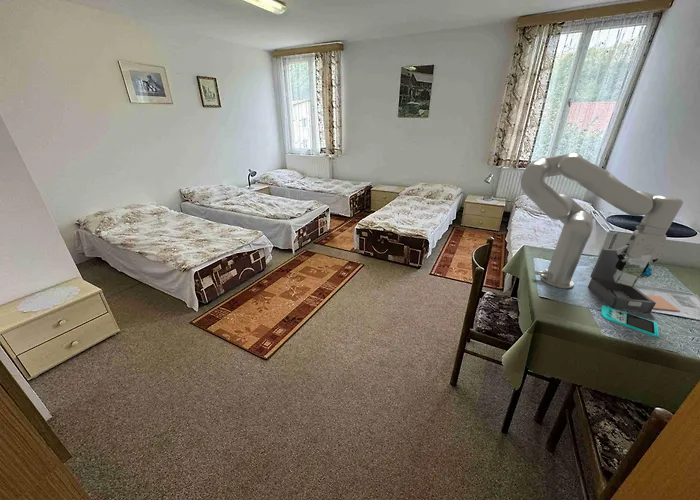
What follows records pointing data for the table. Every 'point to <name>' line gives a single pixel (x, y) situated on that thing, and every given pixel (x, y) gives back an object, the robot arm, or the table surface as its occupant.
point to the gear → (648, 270)
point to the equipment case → (616, 286)
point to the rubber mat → (662, 303)
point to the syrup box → (631, 270)
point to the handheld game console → (630, 321)
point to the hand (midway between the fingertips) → (629, 270)
